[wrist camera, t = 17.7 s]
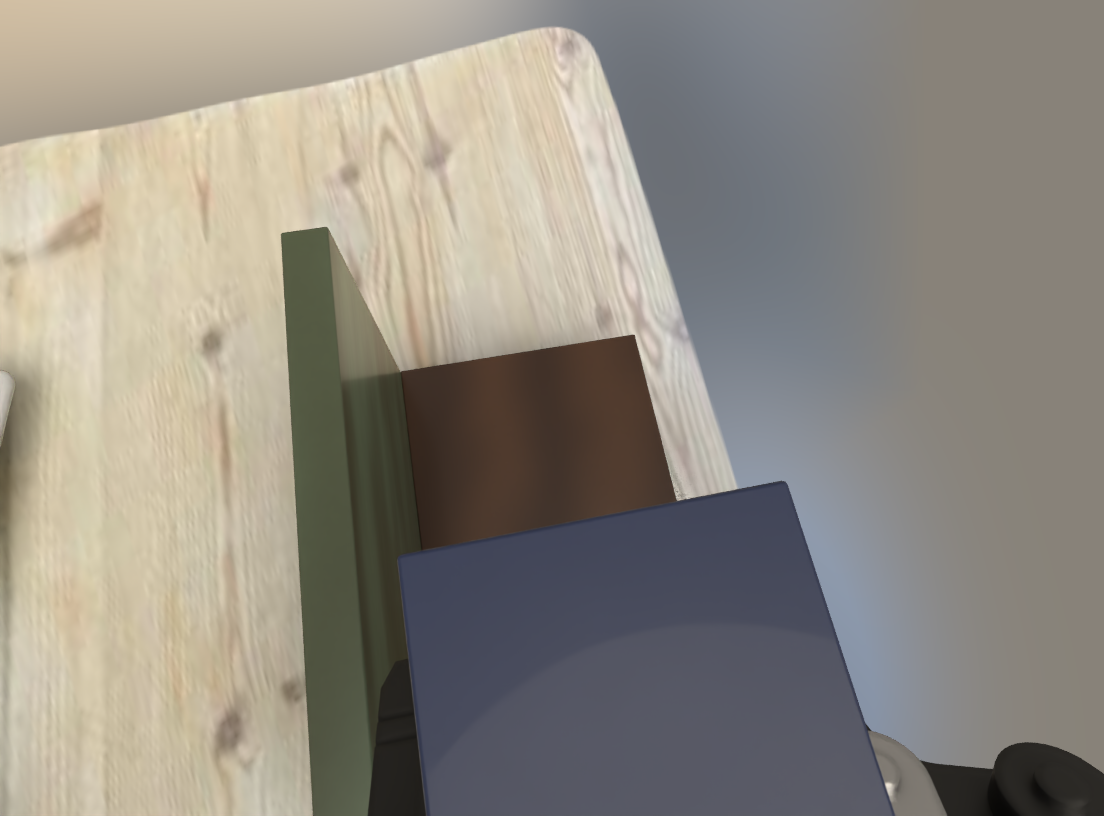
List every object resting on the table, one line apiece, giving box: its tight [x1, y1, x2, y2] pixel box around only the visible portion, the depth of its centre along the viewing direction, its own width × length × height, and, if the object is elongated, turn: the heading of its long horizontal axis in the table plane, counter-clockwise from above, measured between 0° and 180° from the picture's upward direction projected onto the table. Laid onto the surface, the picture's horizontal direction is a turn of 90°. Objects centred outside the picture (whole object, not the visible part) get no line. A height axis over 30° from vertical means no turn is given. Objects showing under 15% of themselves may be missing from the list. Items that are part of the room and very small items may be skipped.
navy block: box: [397, 481, 895, 816], centre depth 10 cm, size 4×6×10 cm, turn 11°
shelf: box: [281, 227, 677, 816], centre depth 25 cm, size 14×24×17 cm, turn 11°
